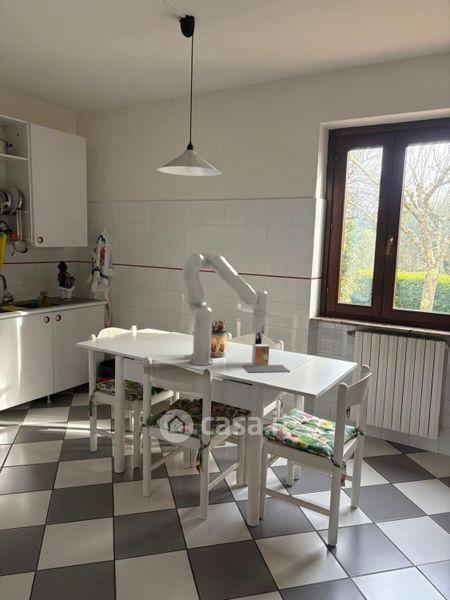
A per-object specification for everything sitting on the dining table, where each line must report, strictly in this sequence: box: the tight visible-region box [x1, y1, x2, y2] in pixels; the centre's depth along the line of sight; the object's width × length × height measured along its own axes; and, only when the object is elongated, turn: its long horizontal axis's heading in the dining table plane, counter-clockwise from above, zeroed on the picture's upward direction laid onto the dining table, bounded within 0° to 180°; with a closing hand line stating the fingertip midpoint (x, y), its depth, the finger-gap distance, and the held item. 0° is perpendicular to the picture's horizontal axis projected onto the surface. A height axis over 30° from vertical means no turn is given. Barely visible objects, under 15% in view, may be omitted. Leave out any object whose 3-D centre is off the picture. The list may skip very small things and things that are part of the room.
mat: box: [242, 364, 291, 374], centre depth 235 cm, size 22×12×1 cm, turn 102°
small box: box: [251, 343, 270, 365], centre depth 245 cm, size 8×6×10 cm
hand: (258, 345), depth 250 cm, fingers closed
